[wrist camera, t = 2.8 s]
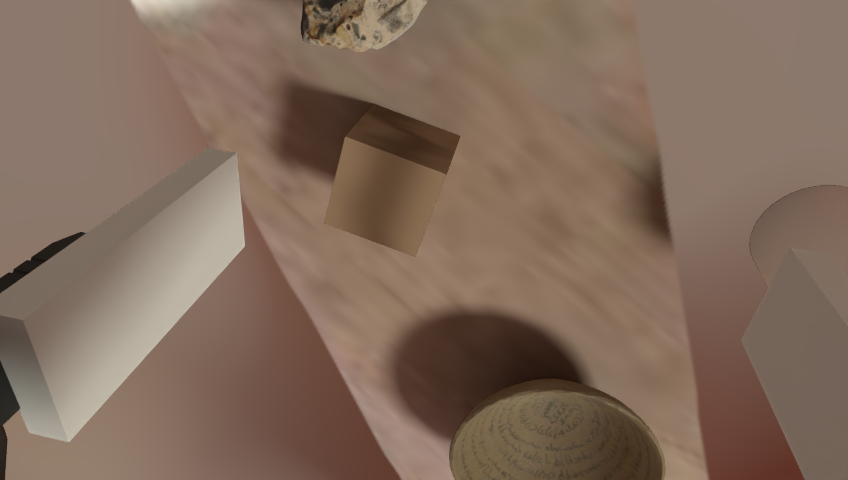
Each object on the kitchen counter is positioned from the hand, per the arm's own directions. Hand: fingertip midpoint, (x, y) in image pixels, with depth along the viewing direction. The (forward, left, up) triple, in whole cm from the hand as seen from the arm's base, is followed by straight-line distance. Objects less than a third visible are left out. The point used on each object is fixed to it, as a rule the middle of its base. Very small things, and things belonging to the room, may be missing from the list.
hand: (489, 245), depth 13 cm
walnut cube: (-5, -12, -28) cm, 31 cm away
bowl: (+16, -31, -28) cm, 45 cm away
